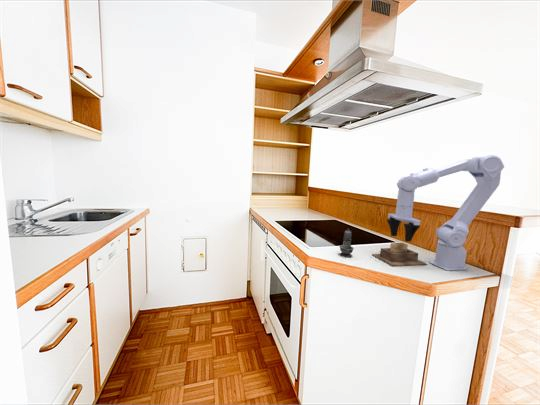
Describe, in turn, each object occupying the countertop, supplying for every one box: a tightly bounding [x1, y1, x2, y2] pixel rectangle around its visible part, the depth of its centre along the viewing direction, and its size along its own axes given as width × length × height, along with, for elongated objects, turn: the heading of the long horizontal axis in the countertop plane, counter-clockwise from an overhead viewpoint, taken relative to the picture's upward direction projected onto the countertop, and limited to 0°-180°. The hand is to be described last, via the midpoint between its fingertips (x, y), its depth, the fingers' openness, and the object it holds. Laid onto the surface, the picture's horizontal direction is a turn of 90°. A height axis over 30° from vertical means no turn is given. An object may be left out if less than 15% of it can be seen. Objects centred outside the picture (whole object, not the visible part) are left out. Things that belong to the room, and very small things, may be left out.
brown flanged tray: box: [371, 247, 427, 268], centre depth 93 cm, size 16×12×4 cm
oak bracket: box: [389, 242, 409, 253], centre depth 93 cm, size 6×2×6 cm, turn 102°
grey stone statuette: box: [339, 228, 355, 259], centre depth 95 cm, size 6×6×12 cm
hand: (400, 238), depth 92 cm, fingers open, 7 cm apart
